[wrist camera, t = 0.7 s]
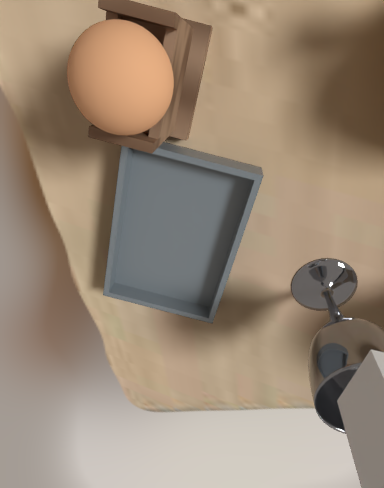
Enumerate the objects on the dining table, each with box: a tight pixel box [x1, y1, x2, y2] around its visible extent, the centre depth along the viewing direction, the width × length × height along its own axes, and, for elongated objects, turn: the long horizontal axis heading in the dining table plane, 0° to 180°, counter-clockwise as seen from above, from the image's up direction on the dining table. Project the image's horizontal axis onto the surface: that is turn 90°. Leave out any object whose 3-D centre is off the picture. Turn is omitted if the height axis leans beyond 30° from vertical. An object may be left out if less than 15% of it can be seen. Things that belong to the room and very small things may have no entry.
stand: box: [88, 0, 212, 154], centre depth 25 cm, size 9×7×10 cm
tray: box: [103, 142, 263, 323], centre depth 35 cm, size 18×13×3 cm
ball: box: [67, 19, 174, 136], centre depth 19 cm, size 6×6×6 cm
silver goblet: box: [291, 258, 384, 434], centre depth 31 cm, size 8×8×15 cm
